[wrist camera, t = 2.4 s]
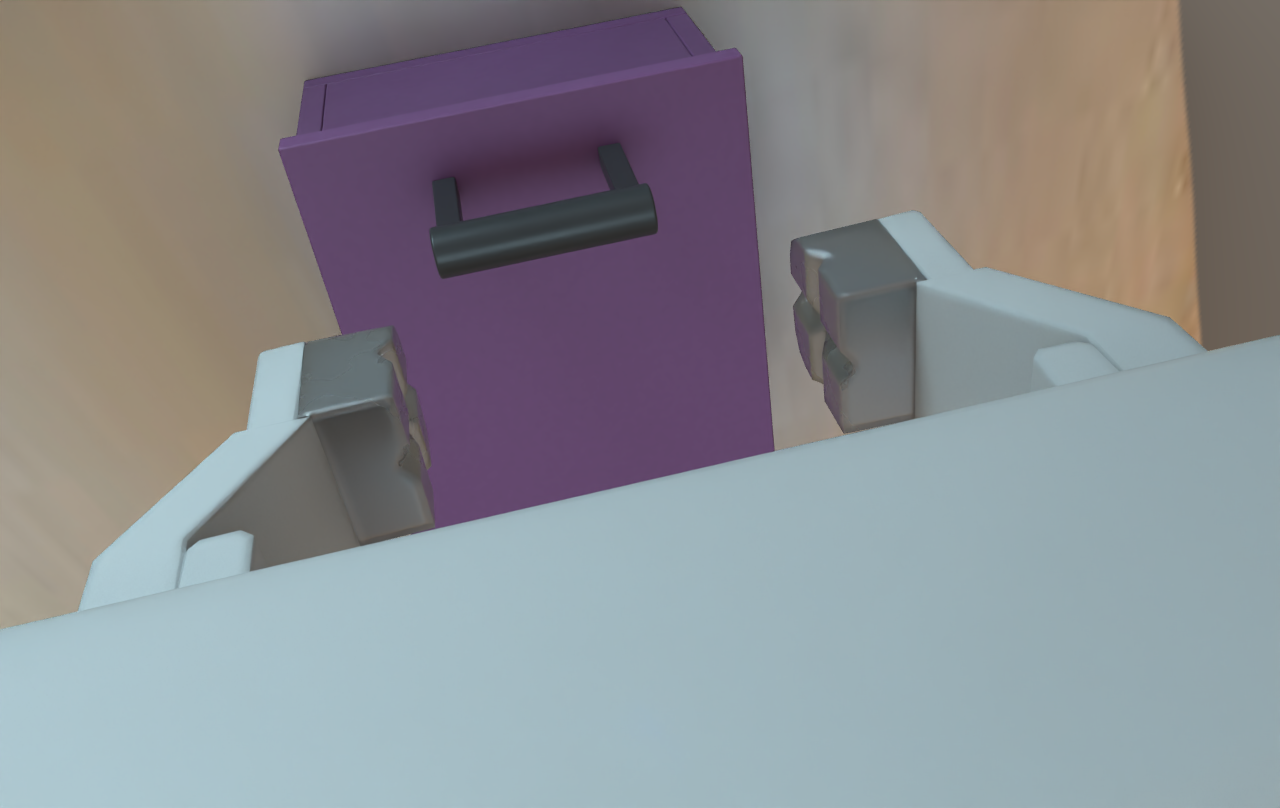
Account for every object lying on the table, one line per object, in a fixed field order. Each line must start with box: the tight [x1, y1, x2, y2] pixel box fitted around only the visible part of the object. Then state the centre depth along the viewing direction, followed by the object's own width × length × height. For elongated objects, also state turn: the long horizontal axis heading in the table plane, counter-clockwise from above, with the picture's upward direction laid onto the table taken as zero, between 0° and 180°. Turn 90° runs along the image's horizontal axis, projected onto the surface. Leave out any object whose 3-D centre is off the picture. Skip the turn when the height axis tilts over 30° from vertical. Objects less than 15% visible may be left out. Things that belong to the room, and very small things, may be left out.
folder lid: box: [278, 48, 774, 535], centre depth 36 cm, size 18×14×6 cm
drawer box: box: [296, 7, 716, 136], centre depth 42 cm, size 17×14×8 cm
